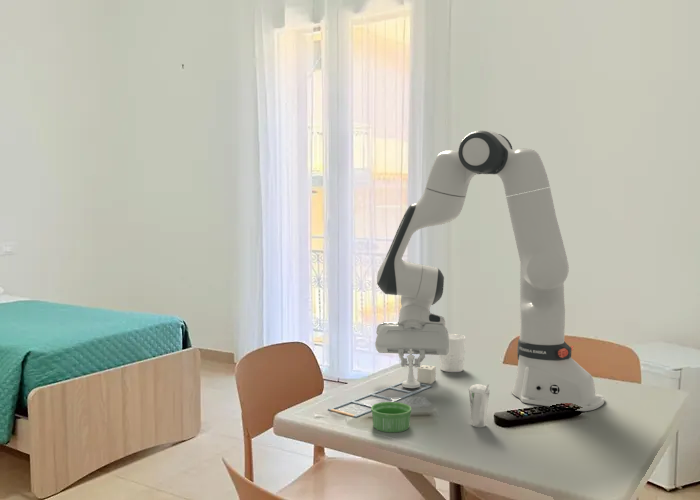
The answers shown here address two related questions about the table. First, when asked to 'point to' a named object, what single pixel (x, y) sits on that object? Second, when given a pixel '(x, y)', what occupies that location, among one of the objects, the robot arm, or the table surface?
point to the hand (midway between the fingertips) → (410, 366)
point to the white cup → (454, 354)
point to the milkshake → (479, 404)
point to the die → (426, 374)
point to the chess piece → (411, 373)
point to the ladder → (376, 396)
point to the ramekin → (391, 416)
